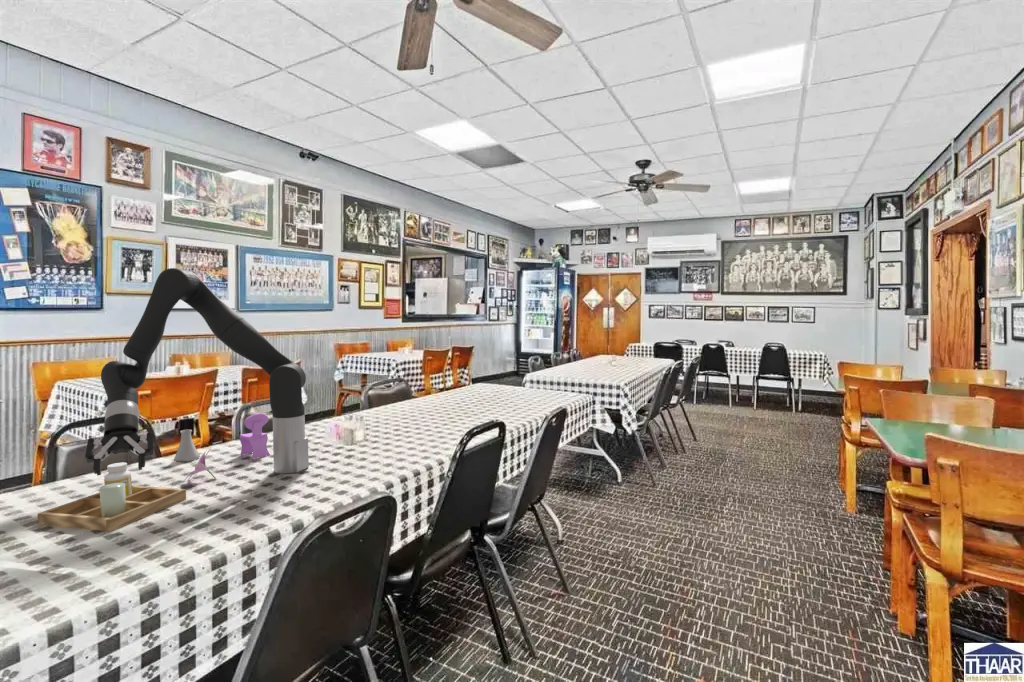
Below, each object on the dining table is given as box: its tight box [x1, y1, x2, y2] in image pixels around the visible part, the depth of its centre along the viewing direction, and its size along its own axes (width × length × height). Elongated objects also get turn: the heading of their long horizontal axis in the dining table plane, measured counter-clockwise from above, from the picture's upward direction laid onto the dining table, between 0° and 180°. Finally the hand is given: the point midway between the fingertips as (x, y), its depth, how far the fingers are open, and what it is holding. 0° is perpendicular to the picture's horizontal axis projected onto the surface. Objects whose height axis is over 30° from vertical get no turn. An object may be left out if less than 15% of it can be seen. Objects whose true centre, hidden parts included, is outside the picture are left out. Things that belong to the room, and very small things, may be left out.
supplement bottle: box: [103, 461, 133, 496], centre depth 126 cm, size 5×5×10 cm
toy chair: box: [239, 412, 271, 460], centre depth 173 cm, size 8×9×15 cm
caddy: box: [37, 485, 187, 532], centre depth 121 cm, size 20×20×3 cm
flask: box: [173, 429, 201, 462], centre depth 168 cm, size 7×7×10 cm
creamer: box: [99, 483, 126, 518], centre depth 115 cm, size 5×5×8 cm
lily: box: [181, 449, 216, 485], centre depth 146 cm, size 12×12×10 cm
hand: (119, 471), depth 129 cm, fingers open, 8 cm apart
